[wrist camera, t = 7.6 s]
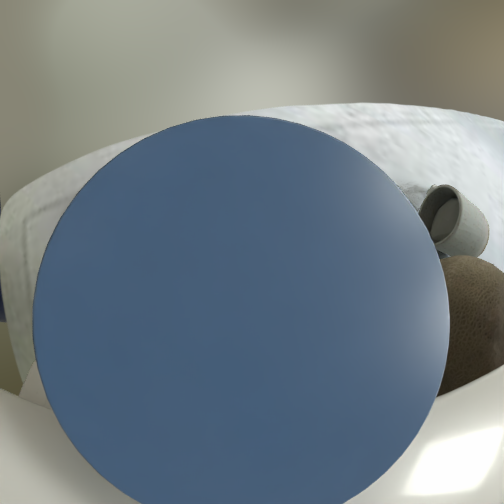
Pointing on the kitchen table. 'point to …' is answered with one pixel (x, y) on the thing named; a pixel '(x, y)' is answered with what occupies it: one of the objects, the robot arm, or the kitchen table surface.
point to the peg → (241, 317)
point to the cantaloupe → (473, 320)
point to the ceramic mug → (454, 222)
